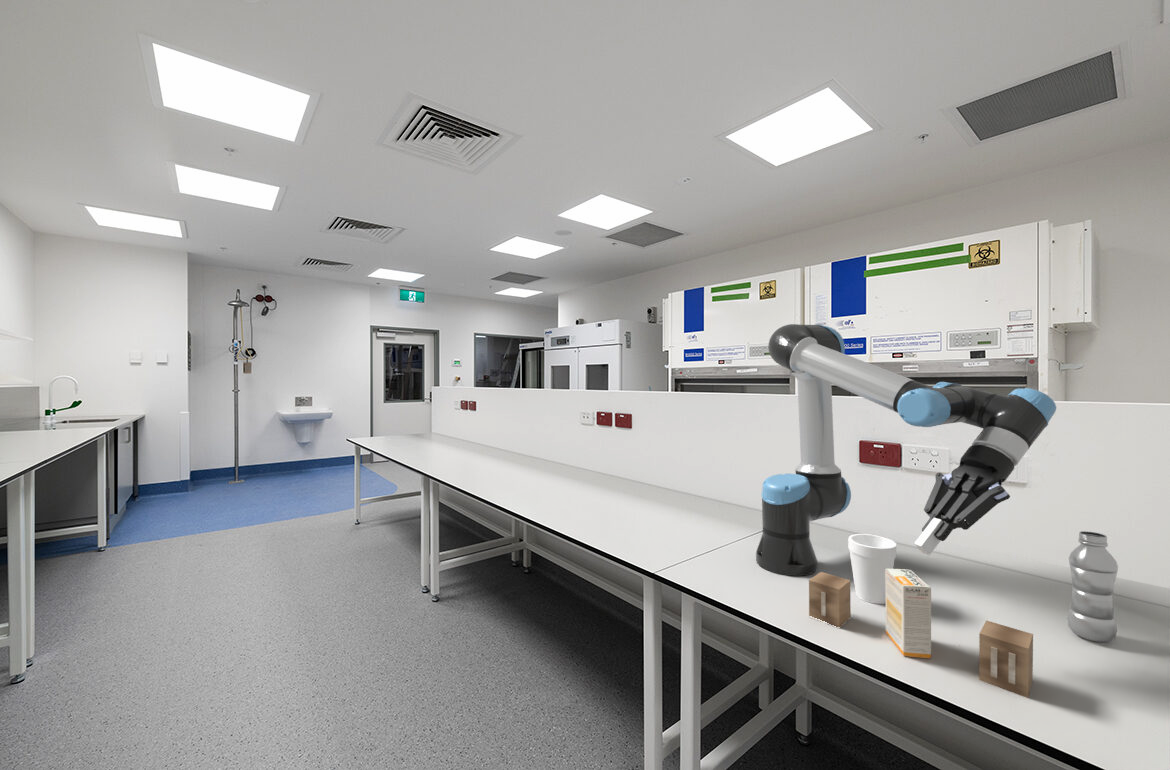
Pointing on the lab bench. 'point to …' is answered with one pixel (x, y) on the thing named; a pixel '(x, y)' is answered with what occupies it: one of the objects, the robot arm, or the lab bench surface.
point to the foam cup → (871, 565)
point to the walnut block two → (1006, 658)
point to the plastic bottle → (1092, 588)
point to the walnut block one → (829, 599)
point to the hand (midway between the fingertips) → (921, 549)
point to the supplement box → (908, 612)
